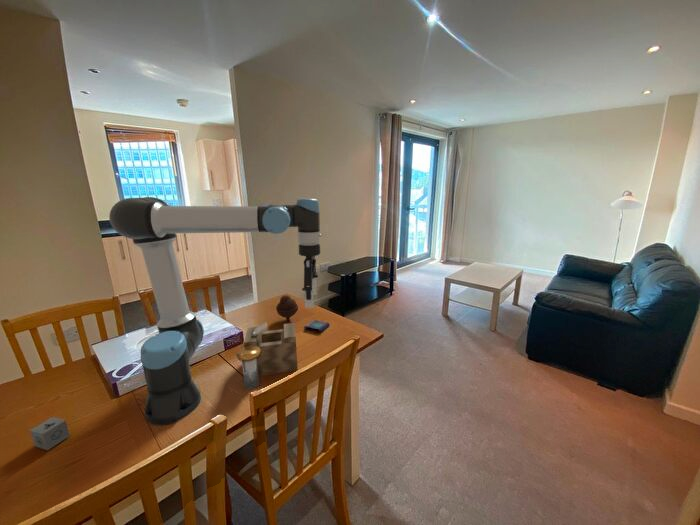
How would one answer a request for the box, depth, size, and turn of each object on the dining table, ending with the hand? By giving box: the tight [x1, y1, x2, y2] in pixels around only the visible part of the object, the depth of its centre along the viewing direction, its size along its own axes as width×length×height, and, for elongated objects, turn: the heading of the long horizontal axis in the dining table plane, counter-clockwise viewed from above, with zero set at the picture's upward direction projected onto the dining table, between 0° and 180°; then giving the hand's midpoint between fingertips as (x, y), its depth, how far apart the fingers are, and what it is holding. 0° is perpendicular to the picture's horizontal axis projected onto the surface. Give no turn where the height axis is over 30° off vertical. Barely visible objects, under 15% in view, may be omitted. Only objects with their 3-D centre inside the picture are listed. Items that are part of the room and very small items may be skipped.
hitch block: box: [243, 322, 299, 376], centre depth 113 cm, size 18×12×14 cm, turn 103°
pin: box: [235, 346, 261, 390], centre depth 101 cm, size 8×8×13 cm
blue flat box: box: [303, 319, 330, 334], centre depth 143 cm, size 9×3×11 cm
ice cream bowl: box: [275, 294, 299, 323], centre depth 148 cm, size 11×11×15 cm
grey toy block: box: [29, 416, 71, 451], centre depth 80 cm, size 5×5×5 cm
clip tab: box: [252, 321, 268, 337], centre depth 110 cm, size 6×5×1 cm
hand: (311, 300), depth 108 cm, fingers open, 13 cm apart
